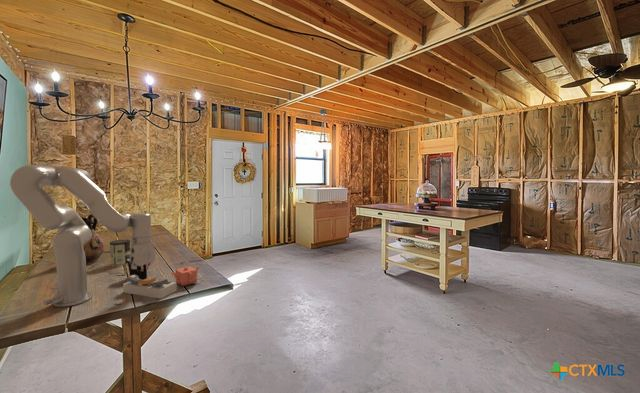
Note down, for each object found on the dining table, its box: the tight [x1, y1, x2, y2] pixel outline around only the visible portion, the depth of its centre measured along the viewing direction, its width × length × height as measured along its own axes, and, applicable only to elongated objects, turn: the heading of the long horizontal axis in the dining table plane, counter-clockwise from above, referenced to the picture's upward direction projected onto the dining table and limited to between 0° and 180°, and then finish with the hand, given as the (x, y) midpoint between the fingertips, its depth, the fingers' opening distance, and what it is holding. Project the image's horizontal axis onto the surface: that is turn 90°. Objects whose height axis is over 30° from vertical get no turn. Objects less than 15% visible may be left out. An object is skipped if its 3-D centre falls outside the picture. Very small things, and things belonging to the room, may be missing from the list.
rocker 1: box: [126, 274, 142, 284], centre depth 132 cm, size 4×6×2 cm, turn 74°
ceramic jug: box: [81, 213, 105, 265], centre depth 176 cm, size 17×15×30 cm
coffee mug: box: [127, 258, 138, 276], centre depth 151 cm, size 12×9×10 cm
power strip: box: [122, 279, 178, 299], centre depth 132 cm, size 9×27×4 cm, turn 74°
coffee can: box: [109, 239, 131, 267], centre depth 172 cm, size 10×10×14 cm
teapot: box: [170, 265, 201, 287], centre depth 142 cm, size 12×15×8 cm
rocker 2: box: [138, 277, 157, 284], centre depth 130 cm, size 4×6×2 cm, turn 74°
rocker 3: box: [150, 278, 168, 286], centre depth 128 cm, size 4×6×2 cm, turn 74°
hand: (142, 278), depth 131 cm, fingers closed
